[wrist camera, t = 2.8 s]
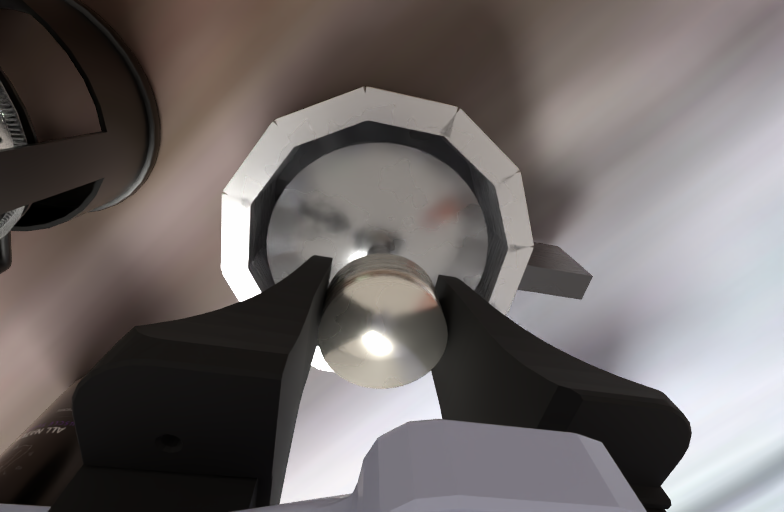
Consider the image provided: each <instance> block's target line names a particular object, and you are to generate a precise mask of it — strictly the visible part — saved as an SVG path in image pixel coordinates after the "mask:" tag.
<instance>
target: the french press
mask: <svg viewBox="0 0 784 512" xmlns="http://www.w3.org/2000/svg"><path fill="white" fill-rule="evenodd" d="M0 9H11V10H17V11H21V12H24V13H28V14H30V15H32V16H33V17H34V18H35V19H36V20H37V21H38V22H39V23H40V24H42V25H43V26H44V27H45V28H46V29H47V31H48V32H49V33H50V34H51V35H52V36H53V38H54V39H55V40H56V41H57V42H58V43H59V45H60V46H61V47H62V48H63V49H64V50H65V52H66V53H67V54H68V56H69V57H70V59H71V61H72V62H73V64H74V65H75V67H76V68H77V70H78V72H79V73H80V75H81V76H82V78H83V79H84V82H85V84H86V86H87V88H88V91H89V93H90V95H91V97H92V100H93V102H94V104H95V106H96V110H97V114H98V118H99V122H100V126H101V130H102V131H101V132H95V133H90V134H84V135H79V136H73V137H67V138H62V139H56V140H51V141H45V142H39V143H38V141H37V137H36V133H35V130H34V128H33V125H32V123H31V120H30V117H29V115H28V112H27V110H26V108H25V106H24V104H23V102H22V101H21V99H20V97H19V95H18V93H17V92H16V90H15V88H14V86H13V84H12V83H11V81H10V80H9V78H8V77H7V75H6V74H5V73H4V71H3V70H2V68H1V67H0V274H1V273H3V272H4V271H6V270H7V269H9V267H10V266H11V262H12V253H11V231H32V230H39V229H46V228H50V227H53V226H56V225H58V224H61V223H64V222H67V221H69V220H71V219H73V218H76V217H78V216H80V215H82V214H84V213H87V212H94V211H100V210H103V209H106V208H109V207H111V206H114V205H117V204H119V203H121V202H122V201H124V200H125V199H127V198H128V197H130V196H131V195H133V194H134V193H136V192H137V190H138V189H139V188H140V187H141V186H142V185H143V184H144V183H145V182H146V180H147V179H148V177H149V175H150V173H151V171H152V169H153V167H154V165H155V163H156V159H157V154H158V150H159V146H160V122H159V116H158V111H157V106H156V101H155V98H154V96H153V93H152V90H151V88H150V85H149V82H148V80H147V78H146V76H145V74H144V72H143V70H142V69H141V67H140V65H139V63H138V62H137V60H136V58H135V56H134V55H133V53H132V52H131V51H130V50H129V48H128V47H127V46H126V44H125V43H124V42H123V41H122V39H121V38H120V37H119V36H118V34H117V33H116V32H115V31H114V30H113V29H112V28H111V27H110V26H109V25H108V24H107V23H106V22H105V21H104V20H103V19H102V18H101V17H99V16H98V15H97V14H96V13H95V12H94V11H93V10H92V9H90V8H89V7H87V6H86V5H85V4H83V3H82V2H80V1H79V0H0Z"/></svg>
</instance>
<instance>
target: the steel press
mask: <svg viewBox="0 0 784 512" xmlns="http://www.w3.org/2000/svg"><path fill="white" fill-rule="evenodd" d="M364 141H391V142H399V143H403V144H407V145H411V146H414V147H417V148H419V149H422V150H424V151H426V152H429V153H431V154H432V155H434V156H436V157H437V158H439V159H441V160H442V161H444V162H445V163H446V164H447V165H448V166H450V167H451V168H452V169H453V170H454V171H455V172H456V173H457V174H458V175H459V176H460V177H461V178H462V179H463V180H464V181H465V182H466V184H467V185H468V186H469V188H470V189H471V191H472V192H473V194H474V195H475V197H476V199H477V201H478V203H479V205H480V207H481V209H482V212H483V216H484V219H485V222H486V228H487V234H488V250H487V258H486V263H485V267H484V271H483V274H482V276H481V279H480V281H479V284H478V286H477V287H476V289H475V292H476V293H477V294H479V295H480V296H481V297H482V298H483V299H485V300H486V301H487V302H488V303H490V304H491V305H492V306H493V307H494V308H496V309H497V310H498V311H500V312H501V313H502V314H504V315H506V312H508V311H509V309H510V306H511V304H512V301H513V299H514V296H515V294H516V291H517V290H523V291H530V292H536V293H543V294H549V295H555V296H562V297H568V298H575V299H582V297H583V295H584V293H585V291H586V289H587V287H588V285H589V283H590V281H591V279H592V277H593V276H592V275H591V274H590V273H588V272H587V271H586V270H585V269H584V268H583V267H582V266H580V265H579V264H578V263H577V262H576V261H575V260H573V259H572V258H571V257H570V256H569V255H568V254H567V253H565V252H564V251H563V250H562V249H561V248H560V247H558V246H553V245H547V244H541V243H536V242H533V238H532V232H531V226H530V221H529V215H528V210H527V204H526V198H525V193H524V187H523V182H522V176H521V172H520V171H519V168H518V167H517V166H516V165H515V164H514V163H513V162H512V161H511V160H510V159H509V158H508V157H507V156H506V155H505V154H504V153H503V152H502V151H501V150H500V149H499V148H498V147H497V146H496V145H495V143H494V142H493V141H492V140H491V139H490V138H489V137H488V136H487V135H486V134H485V133H484V132H483V131H482V130H481V129H480V128H479V127H478V126H477V125H476V124H475V123H474V122H473V121H472V120H471V119H470V118H469V117H468V116H467V115H466V114H465V113H464V111H463V110H462V109H461V108H458V107H456V106H452V105H449V104H445V103H441V102H437V101H433V100H428V99H424V98H419V97H415V96H410V95H406V94H402V93H397V92H392V91H388V90H383V89H379V88H374V87H370V86H367V87H366V89H365V86H364V87H361V88H358V89H355V90H353V91H350V92H347V93H345V94H342V95H339V96H337V97H334V98H331V99H329V100H326V101H323V102H320V103H318V104H315V105H312V106H310V107H307V108H304V109H302V110H299V111H296V112H294V113H291V114H288V115H286V116H283V117H280V118H278V119H275V121H273V122H272V123H271V124H270V126H269V127H268V128H267V130H266V131H265V133H264V134H263V135H262V137H261V138H260V140H259V141H258V142H257V144H256V145H255V147H254V148H253V149H252V151H251V152H250V154H249V155H248V157H247V158H246V159H245V161H244V162H243V164H242V165H241V166H240V168H239V169H238V171H237V172H236V173H235V175H234V176H233V178H232V179H231V180H230V182H229V183H228V185H227V186H226V187H225V189H224V190H223V191H224V193H222V237H221V270H223V272H222V273H223V275H224V277H225V278H226V280H227V282H228V283H229V285H230V286H231V288H232V290H233V291H234V293H235V295H236V296H237V298H238V300H239V301H240V302H241V301H244V300H246V299H248V298H250V297H253V296H255V295H257V294H259V293H261V292H263V291H265V290H267V289H268V288H270V287H272V286H273V285H275V282H274V280H273V277H272V274H271V271H270V267H269V263H268V257H267V233H268V226H269V222H270V219H271V215H272V212H273V210H274V207H275V205H276V203H277V201H278V199H279V197H280V196H281V194H282V193H283V191H284V190H285V188H286V187H287V185H288V184H289V183H290V182H291V181H292V179H293V178H294V177H295V176H296V175H297V174H298V173H299V172H300V171H301V170H302V169H303V168H304V167H306V166H307V165H308V164H309V163H310V162H312V161H313V160H315V159H316V158H318V157H320V156H321V155H323V154H325V153H327V152H329V151H331V150H334V149H336V148H338V147H341V146H345V145H348V144H352V143H357V142H364ZM311 365H313V366H314V367H316V368H318V369H320V368H321V367H322V370H325V371H333V370H331V368H330V367H329V366H328V365H327V363H326V362H325V360H324V359H323V357H322V354H321V352H320V348H319V343H318V345H317V348H316V351H315V354H314V358H313V361H312V364H311ZM333 372H334V371H333Z"/></svg>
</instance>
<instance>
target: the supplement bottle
mask: <svg viewBox="0 0 784 512" xmlns="http://www.w3.org/2000/svg"><path fill="white" fill-rule="evenodd" d="M85 376H86V375H85ZM85 376H83V377H82V378H80V379H78V380H77V381H76V382H74V383H73V384H72V385H71V386H70V387H69V388H68V389H67V390H66V391H65V392H64V393H63V394H62V395H60V396H59V397H58V398H57V399H56V400H55V401H54V402H53V403H52V404H51V405H50V406H49V407H48V408H47V409H46V410H45V411H44V412H43V413H42V414H41V415H40V416H39V417H38V418H37V419H36V420H35V421H34V422H33V423H32V424H31V425H30V426H29V427H28V428H27V429H26V430H25V431H24V432H23V433H22V434H21V435H20V436H19V437H18V438H17V439H16V440H15V441H14V442H13V443H12V444H11V445H10V446H9V447H8V448H7V449H6V450H5V451H4V452H3V453H2V454H1V455H0V504H15V505H32V506H48V507H51V506H52V505H53V504H54V502H55V501H56V500H57V498H58V497H59V496H60V494H61V493H62V492H63V490H64V489H65V488H66V487H67V485H68V484H69V483H70V481H71V480H72V479H73V477H74V476H75V475H76V473H77V472H78V471H79V469H80V468H81V467H82V465H83V462H82V457H81V452H80V448H79V443H78V438H77V434H76V429H75V425H74V420H73V415H72V396H73V394H74V391H75V389H76V387H77V384H78V383H79V382H80V381H81V380H82V379H83V378H84V377H85Z"/></svg>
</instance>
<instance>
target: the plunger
mask: <svg viewBox="0 0 784 512" xmlns="http://www.w3.org/2000/svg"><path fill="white" fill-rule="evenodd" d="M487 250H488V234H487V228H486V222H485V219H484V216H483V212H482V209H481V207H480V205H479V203H478V201H477V199H476V197H475V195H474V194H473V192H472V191H471V189H470V188H469V186H468V185H467V184H466V182H465V181H464V180H463V179H462V178H461V177H460V176H459V175H458V174H457V173H456V172H455V171H454V170H453V169H452V168H451V167H450V166H448V165H447V164H446V163H445V162H444V161H442V160H441V159H439V158H437V157H436V156H434V155H432V154H431V153H429V152H426V151H424V150H422V149H419V148H417V147H414V146H411V145H407V144H403V143H399V142H391V141H364V142H357V143H352V144H348V145H345V146H341V147H338V148H336V149H334V150H331V151H329V152H327V153H325V154H323V155H321V156H320V157H318V158H316V159H315V160H313V161H312V162H310V163H309V164H308V165H307V166H306V167H304V168H303V169H302V170H301V171H300V172H299V173H298V174H297V175H296V176H295V177H294V178H293V179H292V181H291V182H290V183H289V184H288V185H287V187H286V188H285V190H284V191H283V193H282V194H281V196H280V197H279V199H278V201H277V203H276V205H275V207H274V210H273V212H272V215H271V219H270V222H269V226H268V233H267V257H268V263H269V267H270V271H271V274H272V277H273V280H274V282H275V284H276V283H278V282H279V281H281V280H283V279H284V278H285V277H287V276H288V275H289V274H291V273H292V272H293V271H295V270H296V269H297V268H298V267H300V266H301V265H302V264H303V263H304V262H306V261H307V260H308V259H309V258H310V257H312V256H313V255H318V256H325V257H331V258H333V260H332V267H331V274H330V280H329V287H328V289H327V294H326V298H325V303H324V307H323V312H322V317H321V322H320V327H319V332H318V343H319V348H320V352H321V354H322V357H323V359H324V360H325V362H326V363H327V365H328V366H329V367H330V368H331V370H333V371H334V372H335V373H336V374H337V375H338V376H340V377H341V378H343V379H345V380H347V381H348V382H351V383H353V384H356V385H359V386H363V387H367V388H376V389H386V388H395V387H399V386H403V385H406V384H409V383H412V382H414V381H416V380H418V379H419V378H421V377H423V376H424V375H426V374H427V373H428V372H429V371H431V370H432V369H433V368H434V367H435V365H436V364H437V363H438V362H439V360H440V359H441V357H442V355H443V353H444V351H445V348H446V344H447V338H448V331H447V325H446V321H445V318H444V314H443V311H442V308H441V305H440V302H439V299H438V296H437V292H436V289H435V285H436V282H437V278H438V275H445V276H452V277H457V278H458V279H460V280H461V281H463V282H464V283H465V284H466V285H468V286H469V287H470V288H471V289H473V290H474V291H475V289H476V287H477V286H478V284H479V281H480V279H481V276H482V274H483V271H484V267H485V263H486V258H487Z"/></svg>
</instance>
